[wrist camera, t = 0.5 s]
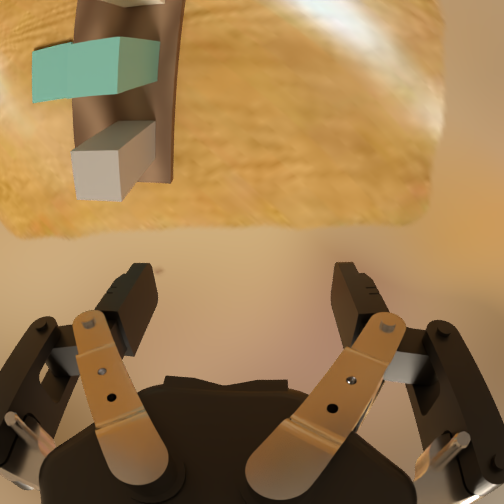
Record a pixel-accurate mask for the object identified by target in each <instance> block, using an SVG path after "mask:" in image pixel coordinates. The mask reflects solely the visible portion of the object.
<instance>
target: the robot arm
mask: <svg viewBox="0 0 504 504" xmlns="http://www.w3.org/2000/svg"><path fill="white" fill-rule="evenodd" d="M157 303H158V292H157V288H156V283H155V279H154V274H153V269H152V266H151V264H150V263H134V264H132V266H131V267H130V269H129V270H128V271H127V273H126V274H122V275H121V276H120V277H118V278H117V279H116V280H115V281H114V282H113V283H112V285H111V287H110V288H109V289H108V290H107V293H106V294H105V295H104V296H103V298H102V299H101V301H100V302H99V303H98V305H97V307H96V308H95V310H89V311H86V312H83V313H81V314H80V315H78V316H77V317H76V318H75V319H74V321H73V324H72V325H66V326H58V325H57V322H56V320H55V319H54V318H53V317H50V316H46V317H42V318H39V319H38V320H36V321H35V322H33V323H32V324H31V325H30V327H29V328H28V330H27V331H26V332H25V334H24V335H23V337H22V338H21V340H20V341H19V343H18V344H17V346H16V347H15V349H14V350H13V352H12V353H11V355H10V356H9V358H8V359H7V361H6V363H5V364H4V366H3V367H2V369H1V371H0V475H2V476H3V477H4V478H6V479H7V480H9V481H11V482H13V483H14V484H15V485H17V486H18V487H20V488H21V489H24V490H31V489H36V490H39V491H40V494H41V504H473V503H475V502H476V501H478V500H480V499H481V498H483V497H484V496H486V495H487V494H489V493H491V492H492V491H494V490H495V489H496V488H498V487H499V486H501V485H502V484H503V483H504V423H503V421H502V418H501V416H500V414H499V411H498V409H497V407H496V404H495V402H494V400H493V398H492V396H491V393H490V391H489V389H488V387H487V385H486V383H485V381H484V378H483V376H482V374H481V373H480V370H479V368H478V367H477V365H476V363H475V361H474V359H473V357H472V355H471V353H470V351H469V349H468V348H467V346H466V344H465V342H464V340H463V339H462V337H461V335H460V333H459V332H458V330H457V329H456V328H455V326H453V325H452V324H450V323H449V322H446V321H442V320H434V321H432V322H430V323H429V324H428V325H427V328H426V330H419V329H412V328H408V327H406V324H405V322H404V321H403V319H402V318H400V317H399V316H397V315H395V314H393V313H390V312H389V310H388V308H387V306H386V304H385V302H384V300H383V298H382V296H381V295H380V294H379V291H378V289H377V288H376V285H375V283H374V282H373V280H372V279H371V278H370V277H369V276H367V275H366V274H365V273H358V271H357V269H356V267H355V265H354V263H353V262H336V263H335V267H334V274H333V282H332V290H331V306H332V310H333V313H334V317H335V320H336V323H337V327H338V331H339V334H340V337H341V341H342V345H343V348H344V350H343V351H342V353H341V354H340V355H339V357H338V358H337V360H336V361H335V362H334V364H333V365H332V366H331V368H330V369H329V370H328V372H327V373H326V374H325V376H324V377H323V378H322V379H321V381H320V382H319V383H318V385H317V386H316V387H315V388H314V390H313V391H312V392H311V393H310V395H308V394H306V393H303V392H301V391H297V390H294V389H289V388H288V381H287V380H255V381H249V382H244V383H238V384H232V385H218V384H215V383H211V382H207V381H204V380H200V379H196V378H188V377H175V376H166V377H165V380H164V384H161V385H156V386H152V387H149V388H146V389H143V390H141V391H140V392H138V393H137V391H136V389H135V387H134V385H133V383H132V381H131V379H130V377H129V374H128V372H127V370H126V368H125V365H124V363H123V361H122V359H123V357H124V355H125V356H133V357H134V356H135V354H136V351H137V349H138V347H139V345H140V342H141V340H142V338H143V335H144V333H145V331H146V328H147V326H148V324H149V322H150V319H151V317H152V315H153V313H154V311H155V308H156V306H157ZM45 363H46V365H47V366H48V368H49V369H48V372H47V373H46V375H45V377H44V379H43V381H42V383H41V384H40V381H39V374H40V371H41V369H42V367H43V365H44V364H45ZM79 376H81V380H82V384H83V387H84V391H85V394H86V397H87V401H88V404H89V407H90V411H91V414H92V417H93V420H94V423H93V424H91V425H90V426H88V427H87V428H85V429H84V430H82V431H81V432H79V433H78V434H76V435H75V436H73V437H72V438H70V439H69V440H67V441H66V442H64V443H63V444H61V445H59V446H58V447H57V448H55V443H54V440H53V439H54V437H55V434H56V431H57V429H58V426H59V423H60V421H61V418H62V416H63V413H64V410H65V408H66V406H67V403H68V401H69V399H70V396H71V394H72V392H73V389H74V387H75V385H76V382H77V380H78V378H79ZM385 381H392V382H400V383H405V385H406V388H407V391H408V395H409V398H410V402H411V405H412V408H413V412H414V415H415V419H416V423H417V427H418V431H419V434H420V438H421V442H422V446H423V450H424V452H423V453H422V454H421V455H420V456H419V458H418V459H417V461H416V464H415V478H414V480H413V482H412V480H411V479H410V477H409V476H408V475H407V474H406V473H405V472H404V471H403V470H402V469H400V468H399V467H398V466H397V465H395V464H394V463H393V462H391V461H390V460H389V459H388V458H386V457H385V456H384V455H382V454H381V453H380V452H379V451H377V450H376V449H375V448H374V447H373V446H371V445H370V444H369V443H367V442H366V441H365V440H364V439H363V438H361V437H360V436H359V435H358V434H357V432H358V430H359V428H360V427H361V425H362V423H363V421H364V419H365V418H366V416H367V414H368V412H369V410H370V409H371V407H372V405H373V403H374V401H375V400H376V398H377V396H378V394H379V392H380V390H381V388H382V386H383V385H384V383H385Z"/></svg>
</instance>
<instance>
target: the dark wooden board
mask: <svg viewBox="0 0 504 504" xmlns="http://www.w3.org/2000/svg"><path fill="white" fill-rule="evenodd" d="M184 7H185V0H165V4H153V5H142V6H133V7H125V8H124V7H121V6H118V5H115V4H111V3H108V2H104V1H101V0H78V2H77V9H76V18H75V28H74V41H73V44H75V43H80V42H86V41H91V40H98V39H104V38H112V37H130V38H138V39H146V40H153V41H159V42H160V50H159V63H158V77H157V81H156V82H153V83H149V84H146V85H143V86H140V87H136V88H133V89H130V90H127V91H124V92H122V93H119V94H110V95H97V96H86V97H77V98H72V108H73V128H74V142H75V148H76V147H78V146H79V145H81V144H82V143H84V142H85V141H87V140H88V139H90V138H91V137H93V136H94V135H96V134H98V133H99V132H101V131H102V130H104V129H106V128H107V127H109V126H111V125H112V124H114V123H116V122H117V121H156V128H155V159H154V161H153V162H152V163H151V164H150V166H149V167H148V168H147V169H146V171H145V172H144V173H143V174H142V176H141V177H140V178H139V180H138V181H137V182H151V183H169V184H171V182H172V180H173V150H174V121H175V101H176V86H177V72H178V60H179V50H180V40H181V31H182V22H183V14H184Z"/></svg>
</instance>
